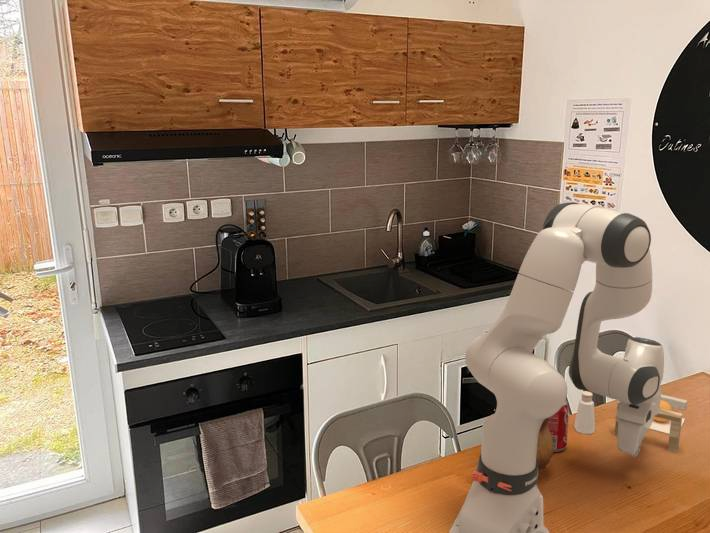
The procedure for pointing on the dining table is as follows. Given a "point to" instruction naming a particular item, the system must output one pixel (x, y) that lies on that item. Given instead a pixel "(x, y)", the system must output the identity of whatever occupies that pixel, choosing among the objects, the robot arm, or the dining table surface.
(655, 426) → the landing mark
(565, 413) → the soda can
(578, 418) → the salt shaker
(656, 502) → the dining table surface
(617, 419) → the bridge
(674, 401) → the wooden block bar
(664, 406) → the ball
